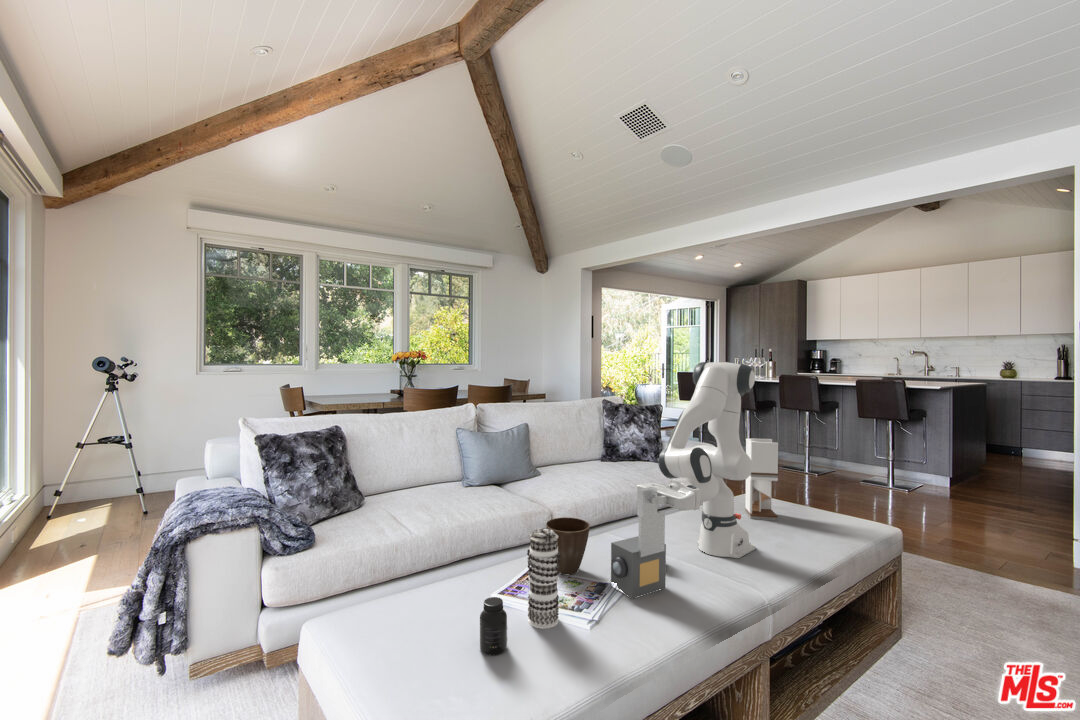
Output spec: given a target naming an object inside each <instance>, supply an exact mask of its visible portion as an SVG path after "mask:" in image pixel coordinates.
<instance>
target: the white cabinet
mask: <svg viewBox="0 0 1080 720" xmlns="http://www.w3.org/2000/svg"><path fill="white" fill-rule="evenodd" d="M745 453H746V454H747V455H748V456H749V457H750V459H751V461H752V472H751V474H750V475H749V477H748V478H747V479H745V497H744V498H745V500H744V501H745V508H744V509H745V510H744V511H745V514H746V515H747V516H748V517H749V519H751V520H762V519H764V520H765V521H778V515H777V514H776V513H775V512H774V511H773V509H772V495H773V494H772V489H773V488H772V487H773V486H772V485H773V483H772V482H778V481H779V469H778V468H779V442H775V441H774V442H773V439H772V438H746V439H745Z"/></svg>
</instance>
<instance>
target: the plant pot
mask: <svg viewBox="0 0 1080 720" xmlns="http://www.w3.org/2000/svg"><path fill="white" fill-rule="evenodd" d="M545 528H548V529H551V530H553V531H554V532H555V534H557V535H558V538H557V546H558V552H560V556H559V558H560V562H558V563H557V564H558V565H559V567H560V568H559V569H558V571H559V574H560V573H561V574H560V575H563V574H569V575H568V576H573V575H575V574H578V571H579V569H580V567H581V565H582V561H583V558H584V555H585V551H586V547H587V544H588V540H589V533H590V529H591V526H590V523H589V522H588V521H587V520H584V519H580V518H577V517H568V516H567V517H555V518H552V519H549V520H548V521H547V522H546V523H545Z"/></svg>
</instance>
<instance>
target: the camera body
mask: <svg viewBox="0 0 1080 720" xmlns="http://www.w3.org/2000/svg"><path fill="white" fill-rule="evenodd" d="M638 545H639V535H638V536H633V537H629V538H624V539H621V540H617V541H613V542H610V546H611V547H610V548H611V549H610V583H611V582H614V583H617V586H618V588H619V589H621V590H622V591H623V592H624V593H625V594H626V595H628V596H629V597H628V596H627V597H628V598H630V597H631V598H633V599H636V598H635V597H637V596H640V597H642V596H641V595H643V596H645V595H644V594H646V595H648V594H647V593H649V594H651V593H650V592H652V593H654V592H653V591H655V592H657V591H656V590H658V591H660V590H659V589H661V590H664V589H663V588H665V589H666V579H667V577H666V569H667V568H666V565H667V564H666V563H667V562H666V560H667V557H666V555H667V554H666V553H667V544H666V543H665V551H662V552H659V553H655V554H651V555H647V556H644V557H639V556H638ZM625 594H624V595H625ZM626 595H625V596H626ZM631 598H630V599H631ZM637 598H638V597H637Z"/></svg>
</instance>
